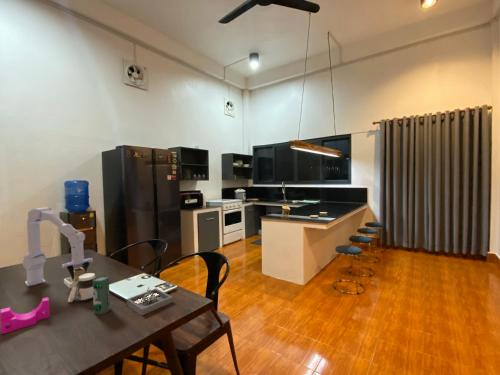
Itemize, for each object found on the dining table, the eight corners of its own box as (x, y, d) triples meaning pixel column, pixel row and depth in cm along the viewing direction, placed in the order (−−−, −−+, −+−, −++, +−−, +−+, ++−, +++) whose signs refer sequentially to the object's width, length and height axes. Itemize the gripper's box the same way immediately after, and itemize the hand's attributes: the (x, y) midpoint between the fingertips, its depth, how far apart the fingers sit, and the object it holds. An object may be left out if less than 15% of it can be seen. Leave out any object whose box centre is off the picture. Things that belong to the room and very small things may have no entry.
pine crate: (71, 279, 146) (71, 269, 146) (81, 276, 149) (81, 267, 149) (75, 282, 141) (74, 272, 141) (85, 279, 145) (85, 269, 145)
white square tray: (64, 283, 145) (63, 278, 145) (86, 277, 153) (86, 273, 153) (69, 289, 137) (69, 284, 137) (93, 282, 146) (93, 277, 146)
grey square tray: (126, 305, 119) (126, 299, 119) (156, 294, 130) (156, 288, 130) (142, 316, 109) (141, 309, 109) (172, 303, 121) (172, 296, 120)
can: (93, 310, 115) (92, 277, 114) (108, 306, 118) (107, 274, 118) (94, 316, 110) (93, 282, 109) (110, 311, 113) (109, 278, 113)
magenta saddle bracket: (1, 334, 98) (0, 315, 98) (1, 327, 102) (0, 309, 102) (50, 318, 108) (49, 301, 108) (48, 313, 113) (47, 297, 113)
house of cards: (139, 312, 113) (138, 295, 113) (136, 304, 120) (136, 288, 120) (160, 306, 117) (159, 290, 117) (156, 299, 125) (156, 284, 125)
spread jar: (101, 297, 127) (100, 274, 127) (77, 307, 117) (76, 283, 117) (87, 292, 133) (86, 270, 133) (63, 301, 123) (62, 278, 123)
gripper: (64, 258, 137) (65, 282, 137) (94, 252, 148) (94, 274, 148) (60, 255, 141) (61, 279, 142) (90, 249, 152) (90, 272, 153)
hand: (78, 277), depth 145 cm, fingers closed on pine crate, 5 cm apart
